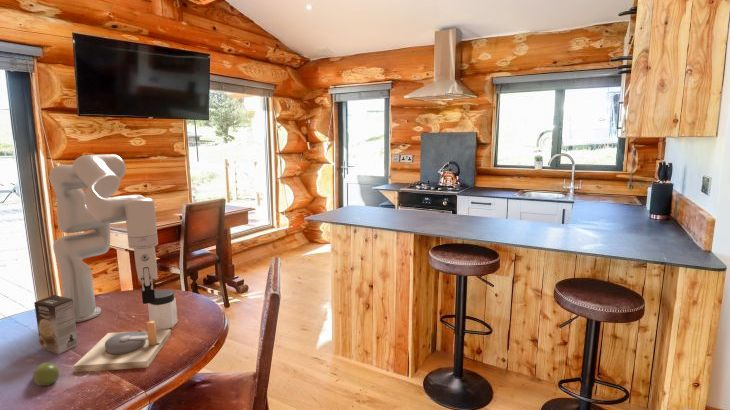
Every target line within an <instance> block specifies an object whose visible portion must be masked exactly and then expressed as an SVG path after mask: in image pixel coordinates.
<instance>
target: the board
mask: <svg viewBox="0 0 730 410" xmlns="http://www.w3.org/2000/svg"><path fill="white" fill-rule="evenodd" d="M171 329H172V328H169V329H164V330H156V336H157V344H155V345H149V343H148V340H146V343H145V345H144V346H142V347H141V348H139V349H137V350H135V351H133V352H130V353H126V354H119V355H112V354H108V353H107V352H106V350H105V342H106V341H107V340H108V339H110V338H111V337H113V336H115V335H118V334H121V333H125V332H126V331H121V332H120V331H119V332H117V331H116V332H107V333H106V335H104V337H102V338H101V339H100V340H99V341H98V342H97V343H96V344H95V345H94V346H93V347H91V349H89V351H88V352H86V354H84V355H83V356H82V357H81V358H80V359H79V360H78V361H77V362H76V363H75V364H74V365H73V372H74V373H80V372H82V373H83V372H95V371H96V372H97V371H98V372H99V371H110V370H111V371H112V370H127V369H143V368H144V369H145V368H149V366H150V365H151V364H152V362H153V361H154V360H155V358H156V356H157V355H158V354H159V353H160V350H161V349H162V348H163V347H164V345H165V344H166V343H167V342H168V340H169V338H170V337H171V335H172V331H171ZM137 331H139V332H143V333H144V334H145V335H148V332H147V330H140V329H139V330H137Z"/></svg>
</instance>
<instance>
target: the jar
mask: <svg viewBox="0 0 730 410" xmlns="http://www.w3.org/2000/svg"><path fill="white" fill-rule="evenodd" d="M154 294H155V302H153V303H147V307H148V308H147V309H148V319H149V320H148V321H155V325H156V330H170V329H172V328H174V327H175V325H176V324H178V309H177V308H178V307H177V298H176V297H175V291H174V290H172V289H160V290H156V291H155V290H154Z"/></svg>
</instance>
